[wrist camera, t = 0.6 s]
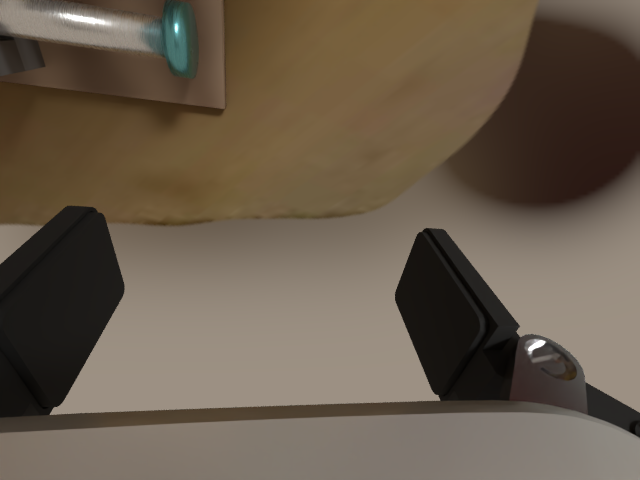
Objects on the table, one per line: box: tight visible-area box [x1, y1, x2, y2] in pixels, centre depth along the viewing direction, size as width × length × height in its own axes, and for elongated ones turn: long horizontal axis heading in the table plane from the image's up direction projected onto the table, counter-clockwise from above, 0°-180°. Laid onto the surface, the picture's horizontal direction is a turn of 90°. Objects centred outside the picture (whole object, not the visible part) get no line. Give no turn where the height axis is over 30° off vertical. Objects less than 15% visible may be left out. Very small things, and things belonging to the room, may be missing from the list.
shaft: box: [0, 0, 199, 79], centre depth 20 cm, size 21×4×4 cm, turn 82°
